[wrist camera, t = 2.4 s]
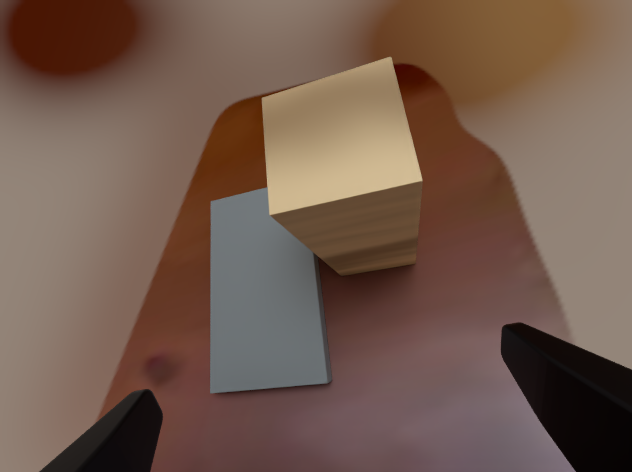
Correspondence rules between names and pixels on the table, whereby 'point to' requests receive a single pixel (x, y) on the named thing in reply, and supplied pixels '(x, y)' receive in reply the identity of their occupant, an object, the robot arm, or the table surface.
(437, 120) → the table surface
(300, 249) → the slate board
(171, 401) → the table surface
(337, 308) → the table surface
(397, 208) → the block
